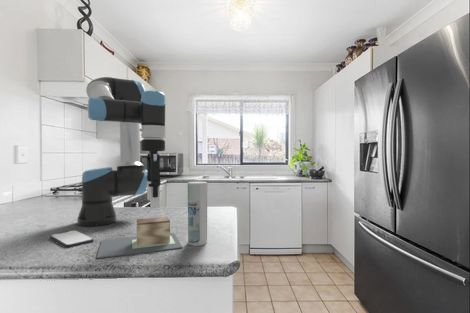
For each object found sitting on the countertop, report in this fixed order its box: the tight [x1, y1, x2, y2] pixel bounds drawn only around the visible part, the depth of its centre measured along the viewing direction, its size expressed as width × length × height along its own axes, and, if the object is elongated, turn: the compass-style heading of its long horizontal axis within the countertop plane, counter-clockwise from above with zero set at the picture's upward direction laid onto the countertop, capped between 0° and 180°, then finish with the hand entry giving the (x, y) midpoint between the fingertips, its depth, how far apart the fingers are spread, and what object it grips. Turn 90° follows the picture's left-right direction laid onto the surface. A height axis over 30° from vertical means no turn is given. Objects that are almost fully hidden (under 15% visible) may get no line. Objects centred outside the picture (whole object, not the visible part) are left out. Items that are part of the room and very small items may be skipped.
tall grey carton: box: [187, 180, 208, 247], centre depth 91 cm, size 6×6×20 cm
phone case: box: [49, 229, 95, 249], centre depth 94 cm, size 9×2×16 cm
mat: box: [96, 232, 183, 260], centre depth 89 cm, size 17×24×1 cm
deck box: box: [136, 216, 171, 246], centre depth 90 cm, size 10×6×7 cm, turn 112°
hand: (152, 203), depth 90 cm, fingers open, 13 cm apart
